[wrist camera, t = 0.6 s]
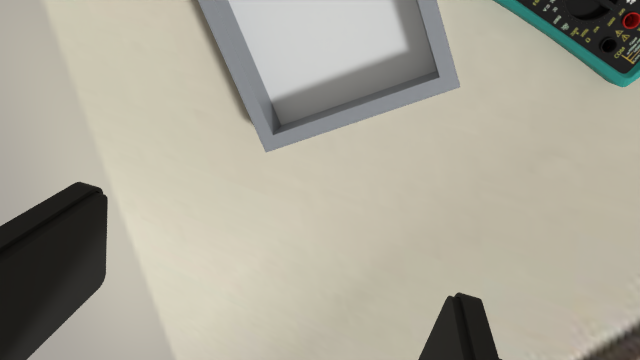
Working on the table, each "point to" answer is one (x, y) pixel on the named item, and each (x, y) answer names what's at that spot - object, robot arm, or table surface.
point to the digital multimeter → (590, 32)
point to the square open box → (329, 60)
